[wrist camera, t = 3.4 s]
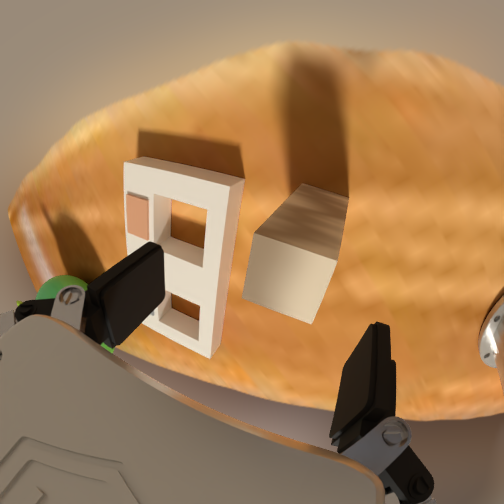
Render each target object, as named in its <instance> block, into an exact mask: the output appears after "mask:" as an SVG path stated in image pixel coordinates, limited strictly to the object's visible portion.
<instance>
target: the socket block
mask: <svg viewBox="0 0 504 504" xmlns="http://www.w3.org/2000/svg"><path fill="white" fill-rule="evenodd" d="M244 182H245V179H243V178H239V177H235V176H231V175H227V174H223V173H219V172H215V171H211V170H207V169H202V168H198V167H193V166H189V165H184V164H180V163H175V162H170V161H165V160H160V159H155V158H149V157H144V156H143V157H140V158H136V159H132V160H129V161H125V162H124V209H125V228H126V242H127V253H128V255H130V254H131V253H133V252H134V251H135V250H137V249H138V248H140V247H141V246H143V245H144V244H146V243H147V242H149V241H151V242H154V243H156V244H159V245H161V247H162V249H163V250H164V270H165V298H164V300H163V302H162V303H161V304H160V305H159V306H158V307H157V308H156V309H155V310H154V311H153V312H152V313H151V314H150V315H149V316H148V317H147V318H146V319H145V320H144V321H143V322H142V323H143V324H144V325H146V326H148V327H150V328H151V329H153V330H155V331H157V332H158V333H160V334H162V335H164V336H166V337H168V338H170V339H171V340H173V341H175V342H177V343H179V344H181V345H183V346H185V347H187V348H189V349H191V350H193V351H195V352H197V353H199V354H201V355H203V356H205V357H207V358H211V357H212V356H213V354H214V353H215V351H216V350H217V348H218V347H219V345H220V344H221V338H222V330H223V323H224V315H225V308H226V301H227V294H228V287H229V280H230V273H231V266H232V259H233V252H234V246H235V239H236V233H237V226H238V220H239V213H240V207H241V200H242V194H243V188H244ZM172 199H174V200H177V201H180V202H184V203H187V204H191V205H194V206H197V207H200V208H204V209H207V210H208V211H207V221H206V232H205V244H204V249H202V248H200V247H197V246H194V245H192V244H189V243H186V242H184V241H181V240H178V239H176V238H173V237H171V207H172ZM171 293H173V294H175V295H177V296H179V297H182V298H184V299H186V300H188V301H190V302H192V303H195V304H197V305H199V306H200V320H199V321H198V320H196V319H194V318H192V317H189V316H187V315H185V314H183V313H181V312H179V311H177V310H175V309H173V308H172V304H171Z"/></svg>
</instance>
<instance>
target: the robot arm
mask: <svg viewBox="0 0 504 504" xmlns="http://www.w3.org/2000/svg"><path fill="white" fill-rule="evenodd" d="M164 298H165V270H164V250H163V249H162V247H161V245H159V244H156V243H154V242H151V241H149V242H147V243H146V244H144V245H143V246H141V247H140V248H138V249H137V250H135V251H134V252H133V253H131V254H130V255H128V256H127V257H125V258H124V259H123V260H121V261H120V262H118V263H117V264H116V265H114V266H113V267H111V268H110V269H109V270H107V271H106V272H105V273H103V274H102V275H101V276H99V277H98V278H97V279H95V280H94V281H93V282H91V283H90V284H89V285H87V290H86V291H84V289H83V288H82V287H81V286H78V285H69V286H66V287H64V288H62V289H61V290H60V291H59V292H58V293H57V295H56V298H50V299H38V300H29V301H25V302H23V303H21V304H20V305H19V306H18V307H17V309H16V311H15V312H14V310H11V311H8V312H6V313H3V314H0V504H436V500H435V498H433V499H432V498H431V494H432V491H433V489H434V480H433V477H432V475H431V474H430V473H429V471H428V470H427V469H426V467H425V466H424V465H423V463H422V462H421V461H420V459H419V458H418V457H417V456H416V454H415V453H414V452H413V450H412V449H411V448H410V446H409V443H410V441H411V429H410V427H409V425H408V424H407V423H406V421H404V420H403V419H401V418H399V417H395V411H396V362H395V361H394V360H391V342H390V326H389V325H386V324H383V323H380V322H376V323H375V324H370V325H369V327H368V329H367V330H366V332H365V333H364V335H363V337H362V338H361V340H360V342H359V343H358V345H357V346H356V348H355V349H354V351H353V352H352V354H351V355H350V357H349V358H348V360H347V361H346V363H345V365H344V367H343V371H342V376H341V382H340V387H339V393H338V398H337V403H336V408H335V412H334V418H333V421H332V426H331V430H330V434H329V437H330V438H333V439H332V443H331V445H334V446H338V449H337V452H338V453H339V454H338V453H335V452H333V451H329V450H326V449H323V448H319V447H316V446H313V445H309V444H306V443H303V442H299V441H296V440H293V439H290V438H286V437H283V436H281V435H278V434H275V433H272V432H269V431H266V430H263V429H260V428H258V427H255V426H252V425H250V424H247V423H244V422H241V421H239V420H237V419H234V418H232V417H230V416H227V415H225V414H223V413H220V412H218V411H216V410H214V409H211V408H209V407H207V406H205V405H203V404H200V403H198V402H196V401H194V400H192V399H190V398H188V397H186V396H184V395H182V394H180V393H178V392H176V391H175V390H173V389H171V388H169V387H167V386H165V385H163V384H162V383H160V382H158V381H156V380H155V379H153V378H151V377H149V376H147V375H146V374H144V373H142V372H141V371H139V370H137V369H136V368H134V367H133V366H131V365H129V364H128V363H126V362H125V361H123V360H121V359H120V358H118V357H117V356H115V355H114V354H112V353H111V352H109V351H108V350H106V349H105V348H104V347H102V346H101V344H102V343H103V342H104V344H105V345H107V346H108V347H110V348H111V349H113V348H114V347H115V346H116V345H120V344H121V343H122V342H123V341H124V340H125V339H126V338H127V337H128V336H129V335H130V334H131V333H132V332H133V331H134V330H135V329H136V328H137V327H138V326H139V325H140V324H141V323H142V322H143V321H144V320H145V319H146V318H147V317H148V316H149V315H150V314H151V313H152V312H153V311H154V310H155V309H156V308H157V307H158V306H159V305H160V304H161V303H162V302H163V300H164ZM478 348H479V353H480V356H481V359H482V360H483V362H484V363H485V364H486V365H488V366H490V367H493V368H497V370H498V373H499V377H500V381H501V385H502V389H503V394H504V295H503V296H502V297H501V299H500V300H499V301H498V302H497V303H496V304H495V306H494V307H493V308H492V310H491V311H490V313H489V314H488V316H487V318H486V320H485V321H484V323H483V326H482V328H481V331H480V335H479V339H478Z"/></svg>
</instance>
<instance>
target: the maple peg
mask: <svg viewBox="0 0 504 504" xmlns="http://www.w3.org/2000/svg"><path fill="white" fill-rule="evenodd" d="M348 200H349V198H348V197H345V196H342V195H339V194H336V193H333V192H330V191H326V190H323V189H320V188H317V187H314V186H310V185H307V184H304V183H302V184H301V185H300V186H299V187H298V188H297V189H296V190H295V191H294V192H293V193H292V194H291V195H290V196H289V197H288V198H287V199H286V200H285V201H284V203H283V204H282V205H281V206H280V207H279V208H278V209H277V210H276V211H275V212H274V213H273V214H272V215H271V216H270V217H269V218H268V219H267V220H266V221H265V222H264V223H263V224H262V225H261V226H260V227H259V228H258V229H257V230H256V231H255V232H254V236H253V241H252V246H251V252H250V257H249V262H248V268H247V273H246V279H245V284H244V289H243V295H242V298H243V299H245V300H248V301H250V302H253V303H256V304H258V305H261V306H263V307H266V308H269V309H271V310H274V311H277V312H279V313H282V314H285V315H287V316H290V317H293V318H296V319H298V320H301V321H304V322H307V323H309V324H312V322H313V320H314V318H315V316H316V313H317V311H318V309H319V306H320V304H321V301H322V299H323V297H324V294H325V292H326V289H327V287H328V284H329V282H330V279H331V277H332V274H333V271H334V269H335V266H336V264H337V261H338V256H339V251H340V246H341V241H342V236H343V230H344V225H345V219H346V213H347V207H348Z"/></svg>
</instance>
